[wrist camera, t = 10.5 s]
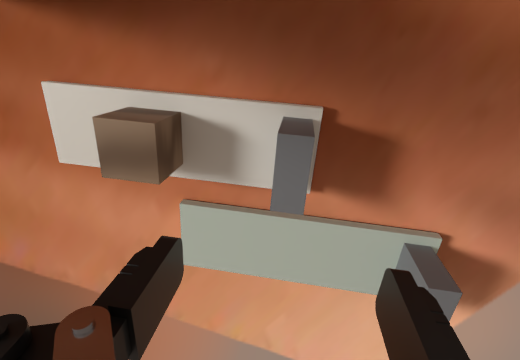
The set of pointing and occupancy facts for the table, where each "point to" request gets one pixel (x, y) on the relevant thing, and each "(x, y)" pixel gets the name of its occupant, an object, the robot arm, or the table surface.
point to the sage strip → (312, 249)
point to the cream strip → (203, 136)
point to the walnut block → (139, 144)
